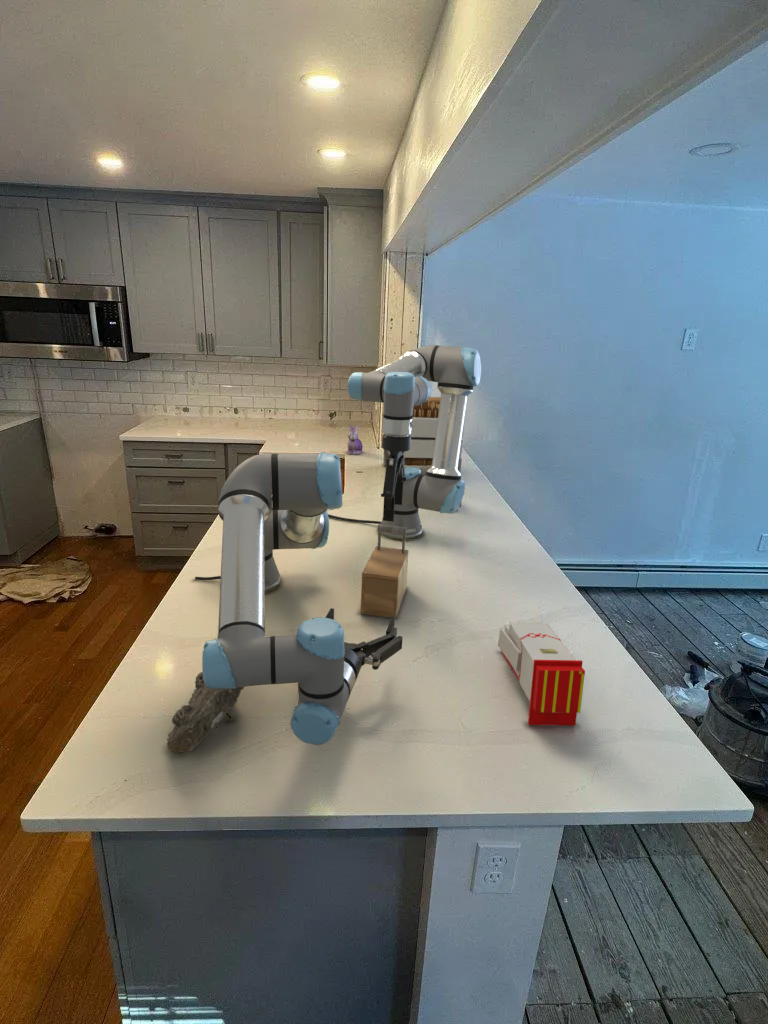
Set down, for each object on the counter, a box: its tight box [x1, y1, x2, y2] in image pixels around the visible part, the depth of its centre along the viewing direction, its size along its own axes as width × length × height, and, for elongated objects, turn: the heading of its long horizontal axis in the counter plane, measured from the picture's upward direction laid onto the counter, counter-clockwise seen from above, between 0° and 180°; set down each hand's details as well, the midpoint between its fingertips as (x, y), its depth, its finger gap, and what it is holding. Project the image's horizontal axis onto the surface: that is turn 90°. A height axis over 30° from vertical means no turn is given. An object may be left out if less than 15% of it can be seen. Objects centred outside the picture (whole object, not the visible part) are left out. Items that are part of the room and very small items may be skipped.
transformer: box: [383, 396, 465, 475], centre depth 268 cm, size 34×33×41 cm
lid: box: [361, 524, 410, 581], centre depth 149 cm, size 18×9×8 cm, turn 169°
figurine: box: [346, 424, 364, 455], centre depth 305 cm, size 9×10×15 cm
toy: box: [497, 621, 586, 727], centre depth 121 cm, size 12×13×30 cm
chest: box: [360, 555, 409, 619], centre depth 152 cm, size 17×9×11 cm, turn 169°
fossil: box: [166, 671, 245, 754], centre depth 106 cm, size 22×10×15 cm
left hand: (362, 617), depth 124 cm, fingers open, 13 cm apart
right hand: (392, 512), depth 153 cm, fingers open, 13 cm apart
